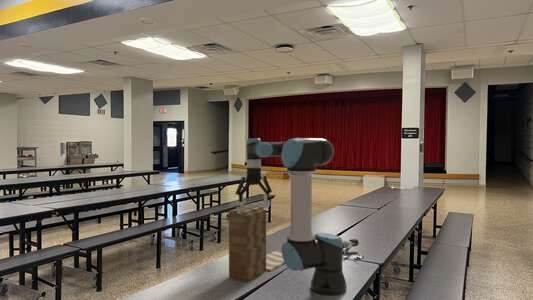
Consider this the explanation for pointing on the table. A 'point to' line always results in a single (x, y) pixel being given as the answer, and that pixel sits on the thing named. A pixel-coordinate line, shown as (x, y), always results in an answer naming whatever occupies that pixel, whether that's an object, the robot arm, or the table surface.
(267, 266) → the board
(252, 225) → the wooden rectangular column
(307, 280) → the table surface
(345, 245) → the figurine
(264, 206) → the block
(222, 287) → the table surface
